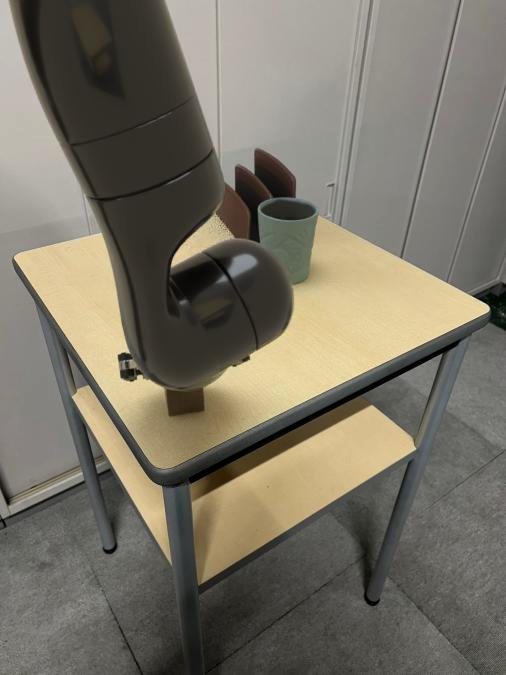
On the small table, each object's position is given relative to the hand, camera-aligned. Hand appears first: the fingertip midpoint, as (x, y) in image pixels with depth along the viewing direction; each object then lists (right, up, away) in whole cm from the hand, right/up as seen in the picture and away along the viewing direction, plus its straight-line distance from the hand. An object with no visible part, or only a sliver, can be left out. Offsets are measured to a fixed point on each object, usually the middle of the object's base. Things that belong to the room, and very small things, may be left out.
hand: (180, 366), depth 64 cm
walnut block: (0, -4, +1) cm, 5 cm away
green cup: (+14, +15, +29) cm, 35 cm away
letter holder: (+9, +26, +43) cm, 51 cm away
